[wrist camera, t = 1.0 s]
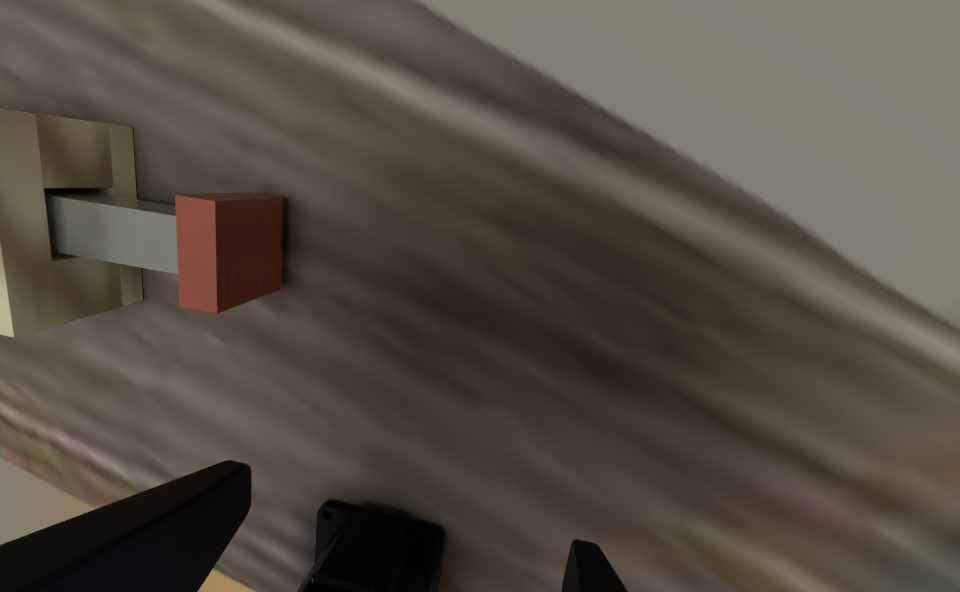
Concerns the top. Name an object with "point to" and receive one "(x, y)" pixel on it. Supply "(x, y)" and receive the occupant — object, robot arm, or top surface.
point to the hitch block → (24, 227)
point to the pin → (178, 240)
